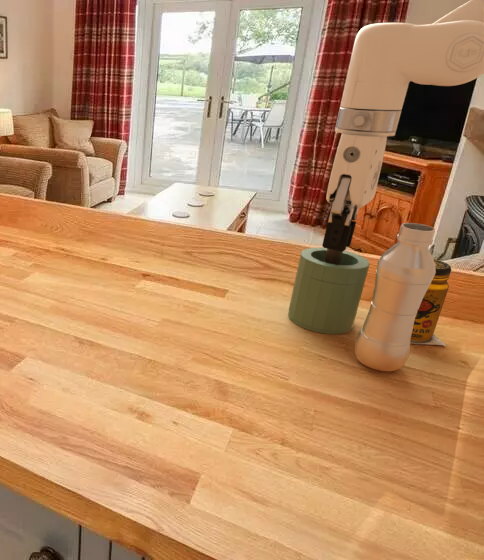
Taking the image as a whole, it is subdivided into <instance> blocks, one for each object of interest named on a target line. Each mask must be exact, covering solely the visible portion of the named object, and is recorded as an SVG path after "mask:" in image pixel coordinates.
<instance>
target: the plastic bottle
mask: <svg viewBox="0 0 484 560" xmlns="http://www.w3.org/2000/svg"><path fill="white" fill-rule="evenodd" d="M435 233H436V228H435V227H433V226H430V225H427V224H423V223H415V222H404V223H401V225H400V228H399V231H398V233H397V235H396V240H397V243H395V244H394V245H393V246H391V247H389V248H388V249H387V250H386V251H385V252H384V253H383V254H381V256H380V257H379V259H378V260H377V263H376V270H375V277H374V278H375V279H374V289H373V293H372V298H371V299H372V300H371V302H370V307H369V309H368V313H367V316H366V317H365V320H364V323H363V325H362V327H361V329H360V331H359V332H358V334H357V336H356V338H355V341H354V350H353V351H354V354H355V356H356V359H357V360H358V362H359V363H361V364H362V365H364V366H366V367H368V368H370V369H373V370H376V371H379V372H380V371H381V372H395V371H397V370H399V369H401V368H402V367H404V365H405V364H406V362H407V361H408V359H409V357H410V351H411V343H410V342H411V340H410V339H411V334H412V330H413V325H414V320H415V317H416V314H417V310H418V309H419V307H420V304H421V302H422V299H423V297H424V295H425V293H426V291H427V289H428V288H429V286H430V284H431V282H432V280H433V278H434V275H435V273H436V269H435V262H434V260H433V259H434V257H433V254H432V253H431V251H430V249H429V246H432V244H433V242H434V236H435Z"/></svg>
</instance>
